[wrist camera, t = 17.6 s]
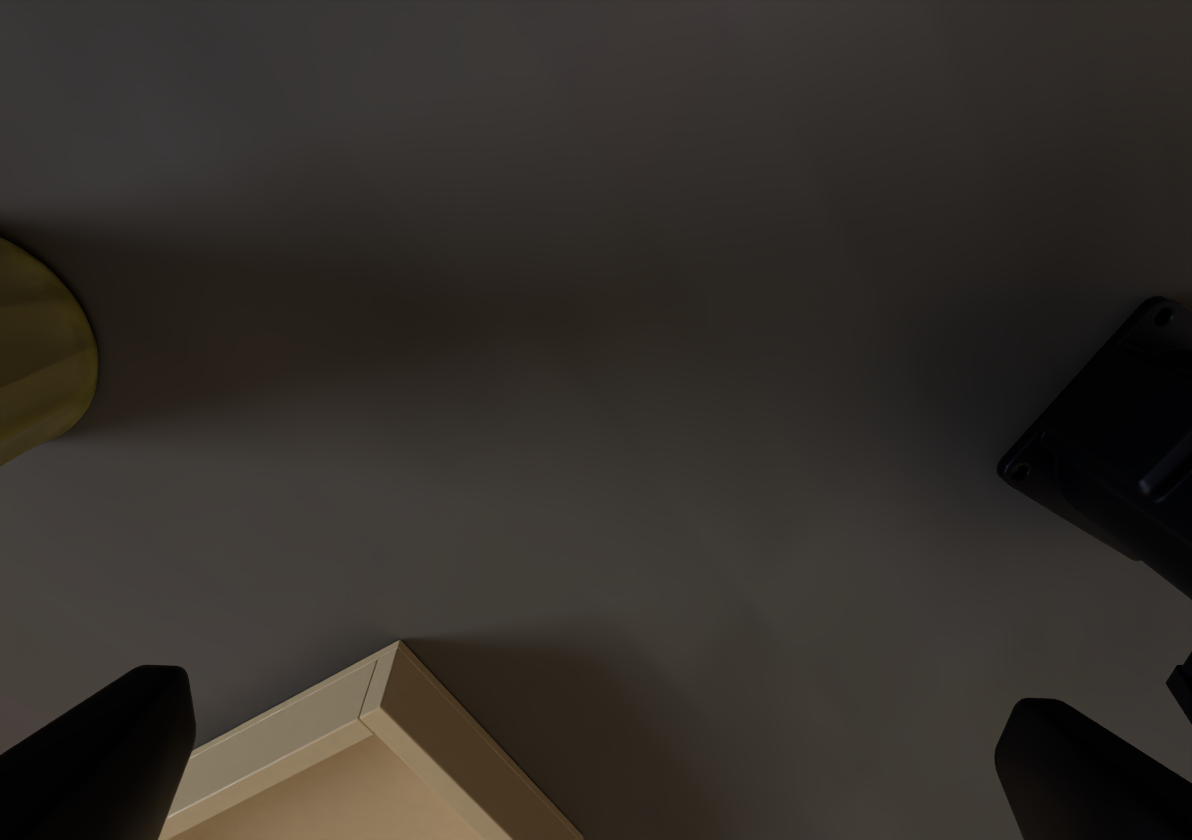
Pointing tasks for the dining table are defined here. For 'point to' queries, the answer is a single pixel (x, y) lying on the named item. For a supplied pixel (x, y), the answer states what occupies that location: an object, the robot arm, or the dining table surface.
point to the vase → (40, 354)
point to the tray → (362, 768)
